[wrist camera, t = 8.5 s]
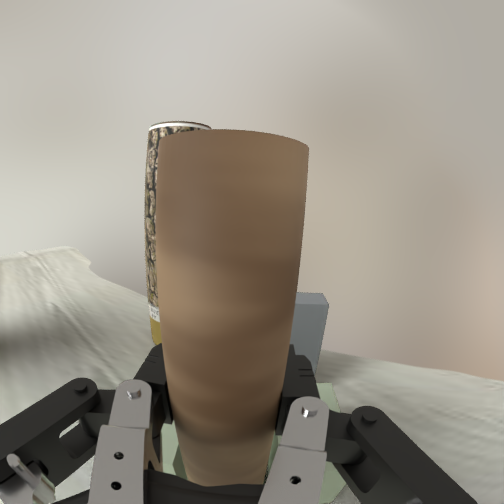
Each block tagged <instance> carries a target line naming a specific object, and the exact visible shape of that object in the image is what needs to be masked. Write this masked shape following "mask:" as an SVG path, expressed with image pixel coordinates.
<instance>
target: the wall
mask: <svg viewBox="0 0 504 504" xmlns="http://www.w3.org/2000/svg"><path fill="white" fill-rule="evenodd" d="M328 308H329V304H328V302H327V300H326V298H325V297H324V295H323V293H301V292H300V293H299V292H297V293H296V301H295V309H294V316H293V324H292V331H291V338H290V344H293V345H294V350H295V355H305V356H306V357H307V358H308V359H309V360H310V361H311V365H312V369H313V372H314V376H315V372H316V367H317V363H318V359H319V354H320V349H321V345H322V340H323V335H324V329H325V325H326V319H327V314H328Z"/></svg>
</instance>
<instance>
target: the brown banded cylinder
mask: <svg viewBox="0 0 504 504" xmlns="http://www.w3.org/2000/svg"><path fill="white" fill-rule="evenodd" d="M308 155H309V147H308V146H307V145H306V144H304V143H302V142H300V141H297V140H294V139H291V138H288V137H284V136H279V135H275V134H269V133H262V132H255V131H245V130H226V129H224V130H223V129H220V130H219V129H218V130H217V129H213V130H212V129H211V130H195V131H186V132H179V133H175V134H171V135H167V136H165V137H163V138H161V139H160V140H159V149H158V164H157V183H156V271H157V291H158V306H159V318H160V329H161V339H162V348H163V356H164V364H165V371H166V378H167V384H168V391H169V397H170V402H171V408H172V413H173V419H174V424H175V428H176V433H177V438H178V442H179V447H180V451H181V455H182V459H183V463H184V467H185V471H186V475H187V478H188V481H191V482H194V483H196V484H199V485H202V486H221V485H231V484H261V485H263V482H264V477H265V473H266V469H267V464H268V460H269V455H270V450H271V446H272V441H273V436H274V431H275V425H276V420H277V415H278V410H279V404H280V399H281V393H282V388H283V382H284V376H285V370H286V364H287V358H288V351H289V345H290V338H291V331H292V324H293V316H294V309H295V301H296V293H297V284H298V275H299V267H300V257H301V248H302V247H301V246H302V237H303V226H304V215H305V202H306V188H307V173H308Z"/></svg>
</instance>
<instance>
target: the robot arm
mask: <svg viewBox="0 0 504 504" xmlns="http://www.w3.org/2000/svg"><path fill="white" fill-rule="evenodd" d="M77 420H78V421H79V424H78V425H77V426H75V427H74V428H73V429H71V430H70V431H69V432H67V433H66V434H65V435H63V436H62V437H61V438H59V435H60V433H61V432H62V431H63V430H65V429H66V428H67V427H69V426H70V425H71V424H73V423H74V422H75V421H77ZM173 420H174V419H173V413H172V408H171V402H170V397H169V391H168V384H167V378H166V371H165V364H164V356H163V348H162V343H160V344H158V345H157V346H155V347H154V348H152V350H151V351H150V353H149V355H148V356H147V358H146V359H145V362H144V363H143V364H142V366H141V368H140V369H139V371H138V372H137V374H136V376H135V377H134V379H133V380H127V381H124V382H122V383H121V384H120V385H119V386H118V387H117V389H116V390H99V389H98V388H97V385H96V384H95V382H94V381H92V380H91V379H88V378H77V379H74V380H72V381H70V382H68V383H67V384H65V385H64V386H62V387H60V388H59V389H57V390H56V391H54V392H52V393H51V394H49V395H48V396H46V397H44V398H43V399H41V400H40V401H38V402H36V403H35V404H33V405H32V406H30V407H28V408H27V409H25V410H24V411H22V412H20V413H19V414H17V415H16V416H14V417H12V418H11V419H9V420H7V421H6V422H4V423H3V424H1V425H0V498H1V500H2V501H3V503H4V504H49V503H51V504H319V499H320V494H321V488H322V483H323V477H324V471H325V464H326V461H327V462H332V464H333V465H334V467H335V468H336V470H337V471H338V472H339V474H340V475H341V477H342V478H343V479H344V481H345V482H346V483H347V485H348V486H349V488H350V489H351V490H352V492H353V493H354V494H355V496H356V497H357V498H358V500H359V501H360V502H361V504H478V503H477V502H476V501H475V500H474V499H473V498H472V497H471V496H470V495H469V494H468V493H467V492H465V491H464V490H463V489H462V488H461V487H460V486H459V485H458V484H457V483H456V482H455V481H454V480H453V479H452V478H450V477H449V476H448V475H447V474H446V473H445V472H444V471H443V470H442V469H441V468H440V467H439V466H438V465H437V464H436V463H435V462H434V461H433V460H432V459H430V458H429V457H428V456H427V455H426V454H425V453H424V452H423V451H422V450H421V449H420V448H419V447H418V446H417V445H416V444H415V443H414V442H413V441H412V440H411V439H410V438H409V437H408V436H407V435H406V434H405V433H404V432H403V431H402V430H401V429H400V428H399V427H398V426H397V425H396V424H395V423H394V422H393V421H392V420H391V419H390V418H389V417H388V416H387V415H386V414H385V413H384V412H382V411H381V410H380V409H378V408H375V407H372V406H362V407H359V408H357V409H355V410H354V411H353V412H352V414H346V413H339V412H335V411H332V410H330V409H329V407H328V405H327V404H326V403H325V402H324V401H323V400H321V399H320V395H319V391H318V388H317V384H316V380H315V377H314V372H313V369H312V365H311V361H310V360H309V359H308V358H307V357H306V356H305V355H295V350H294V345H293V344H290V345H289V351H288V358H287V364H286V370H285V376H284V382H283V388H282V393H281V399H280V404H279V410H278V415H277V420H276V425H275V435H278V436H282V438H281V441H280V444H279V445H278V448H277V451H276V454H275V457H274V460H273V463H272V466H271V469H270V472H269V475H268V478H267V481H266V483H265V485H261V484H231V485H221V486H202V485H199V484H196V483H194V482H191V481H188V480H186V479H183V478H181V477H178V476H176V475H173V474H169V473H164V472H163V458H162V432H161V429H162V427H163V424H164V423H165V424H170V425H172V423H173ZM94 455H95V458H94V464H93V470H92V477H91V484H90V489H89V490H86V491H84V492H81V493H79V494H76V495H74V496H71V497H68V498H66V499H63V500H60V501H57V502H55V500H56V497H55V495H54V494H55V487H56V486H57V485H59V484H60V483H61V482H62V481H64V480H65V479H66V478H67V477H69V476H70V475H71V474H72V473H73V472H75V471H76V470H77V469H78V468H79V467H81V466H82V465H83V464H84V463H85V462H87V461H88V460H89V459H90V458H91V457H93V456H94ZM53 502H54V503H53Z"/></svg>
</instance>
